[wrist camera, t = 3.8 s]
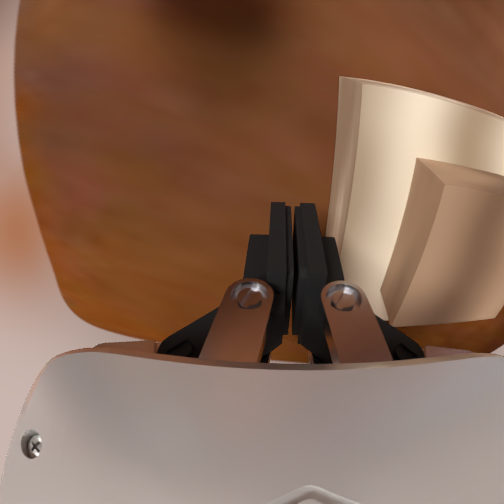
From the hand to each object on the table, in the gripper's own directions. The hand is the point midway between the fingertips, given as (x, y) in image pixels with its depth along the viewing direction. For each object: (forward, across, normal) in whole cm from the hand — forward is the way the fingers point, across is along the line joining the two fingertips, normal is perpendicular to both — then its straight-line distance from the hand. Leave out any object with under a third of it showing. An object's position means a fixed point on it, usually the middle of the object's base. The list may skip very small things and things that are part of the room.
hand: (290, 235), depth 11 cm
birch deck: (+4, -8, 0) cm, 9 cm away
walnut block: (-1, -8, 0) cm, 8 cm away
